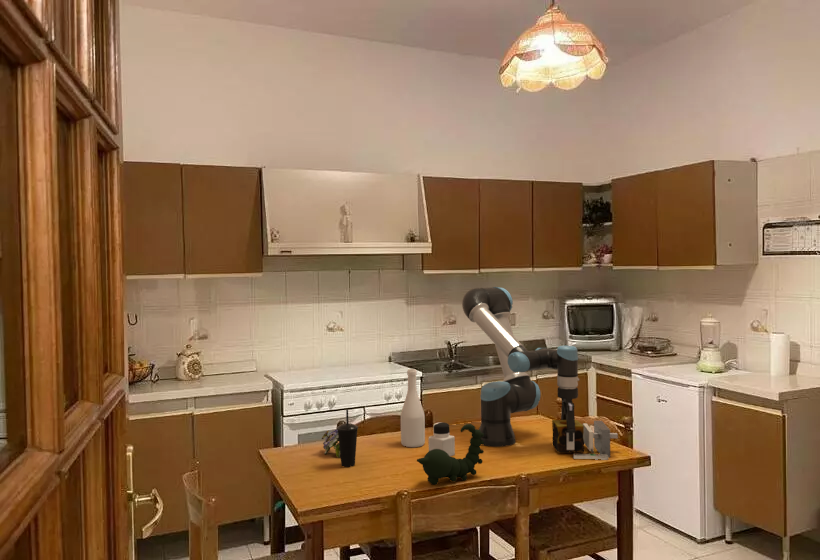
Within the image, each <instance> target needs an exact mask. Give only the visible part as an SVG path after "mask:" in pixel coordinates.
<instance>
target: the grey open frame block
mask: <svg viewBox="0 0 820 560" xmlns="http://www.w3.org/2000/svg"><path fill="white" fill-rule="evenodd" d="M593 433H598V438H593V442H594V449H596V451H597V452H598V453H573V456H572V457H573V460H574V459H595V461H599V460H598V459H601V460H600V461H608V460H609V458H611V438H610V433H611V429H610V428H609V427H608V426H607V425H606V423H604V421H603V420H593ZM599 453H600V454H599Z"/></svg>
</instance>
